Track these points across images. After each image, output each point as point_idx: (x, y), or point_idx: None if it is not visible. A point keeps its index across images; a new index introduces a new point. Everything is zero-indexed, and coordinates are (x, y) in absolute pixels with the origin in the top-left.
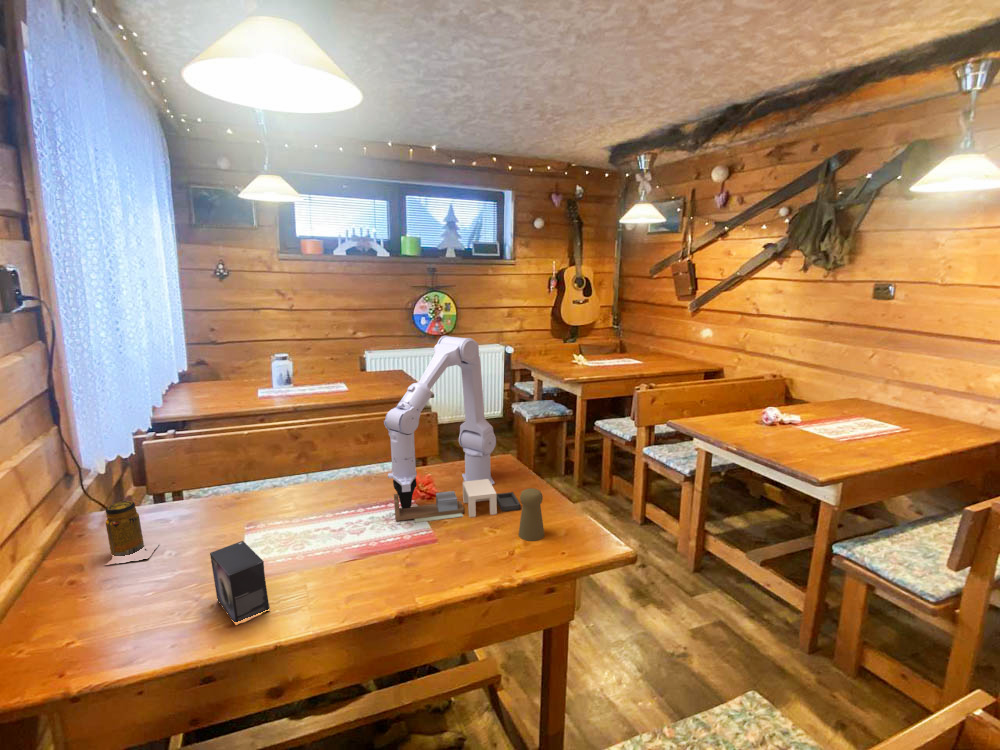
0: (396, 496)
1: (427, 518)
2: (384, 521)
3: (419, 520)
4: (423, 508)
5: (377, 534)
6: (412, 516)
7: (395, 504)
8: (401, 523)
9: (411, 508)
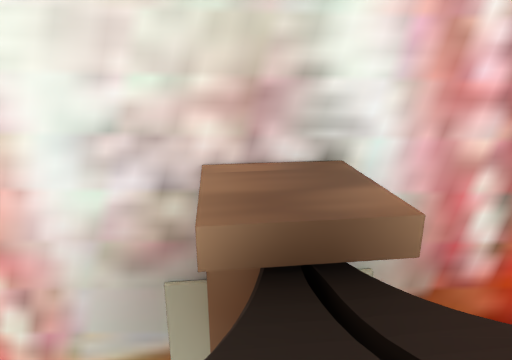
0: (346, 243)
1: (196, 354)
2: (232, 78)
3: (178, 312)
4: None
5: (14, 16)
6: (207, 283)
7: (198, 220)
8: (172, 199)
9: None
